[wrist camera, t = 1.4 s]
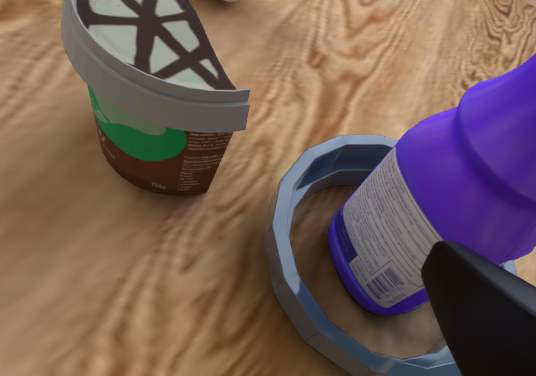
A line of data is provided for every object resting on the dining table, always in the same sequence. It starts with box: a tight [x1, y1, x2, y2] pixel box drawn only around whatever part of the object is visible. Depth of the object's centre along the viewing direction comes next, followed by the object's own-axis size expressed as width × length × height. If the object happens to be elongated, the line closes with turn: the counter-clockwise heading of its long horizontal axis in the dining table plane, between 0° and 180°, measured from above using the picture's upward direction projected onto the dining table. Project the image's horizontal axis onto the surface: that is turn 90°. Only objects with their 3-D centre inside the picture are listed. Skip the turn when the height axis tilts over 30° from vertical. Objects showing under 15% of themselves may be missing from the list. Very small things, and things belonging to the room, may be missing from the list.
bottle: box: [328, 53, 536, 315], centre depth 20 cm, size 7×6×17 cm
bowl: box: [263, 135, 516, 376], centre depth 25 cm, size 15×15×4 cm
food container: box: [61, 0, 251, 196], centre depth 23 cm, size 12×6×10 cm, turn 27°
